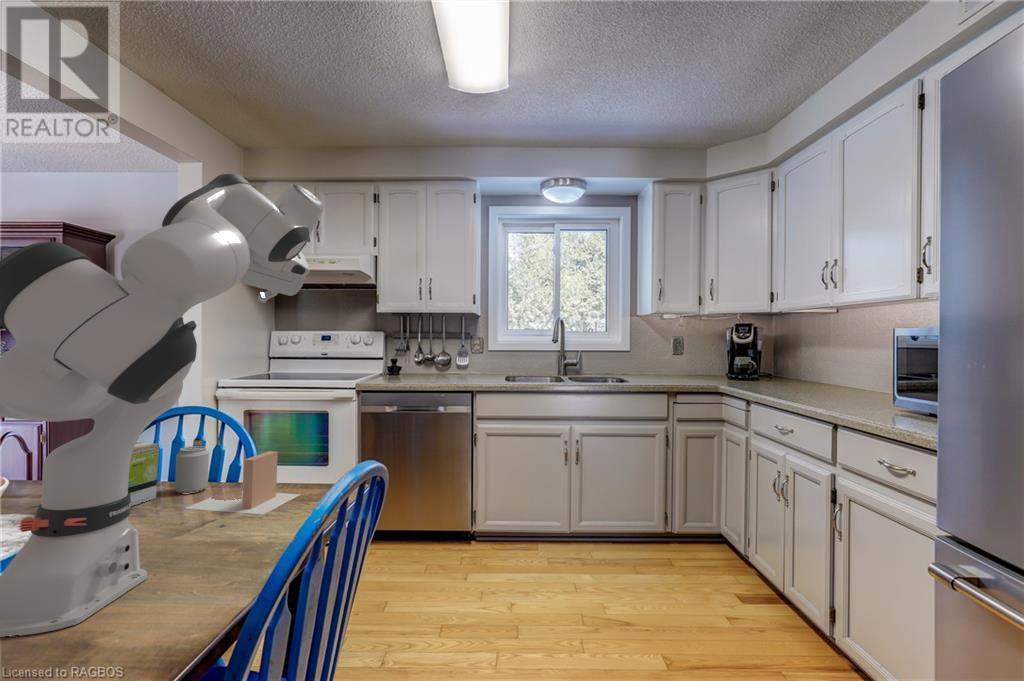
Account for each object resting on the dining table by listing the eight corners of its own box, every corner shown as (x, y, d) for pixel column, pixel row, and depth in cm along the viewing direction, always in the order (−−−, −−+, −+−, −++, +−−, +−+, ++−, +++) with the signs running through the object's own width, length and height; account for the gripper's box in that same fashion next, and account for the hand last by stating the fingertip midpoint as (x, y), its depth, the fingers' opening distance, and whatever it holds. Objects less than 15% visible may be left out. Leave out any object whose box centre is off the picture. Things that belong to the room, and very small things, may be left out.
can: (195, 495, 130) (197, 450, 130) (168, 494, 130) (169, 449, 130) (213, 487, 137) (215, 445, 137) (187, 486, 137) (189, 444, 137)
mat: (263, 516, 116) (263, 514, 116) (183, 510, 118) (184, 508, 118) (300, 496, 132) (300, 494, 132) (229, 491, 134) (229, 489, 134)
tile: (251, 508, 119) (253, 460, 120) (241, 508, 120) (243, 459, 120) (275, 496, 129) (277, 451, 129) (266, 495, 130) (268, 451, 130)
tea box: (100, 518, 112) (103, 454, 112) (64, 514, 113) (67, 451, 113) (158, 498, 126) (160, 442, 127) (125, 495, 128) (127, 439, 128)
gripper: (222, 243, 94) (190, 293, 99) (316, 273, 110) (285, 315, 115) (216, 224, 97) (186, 273, 102) (309, 256, 114) (279, 297, 118)
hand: (239, 295), depth 108 cm, fingers open, 8 cm apart
